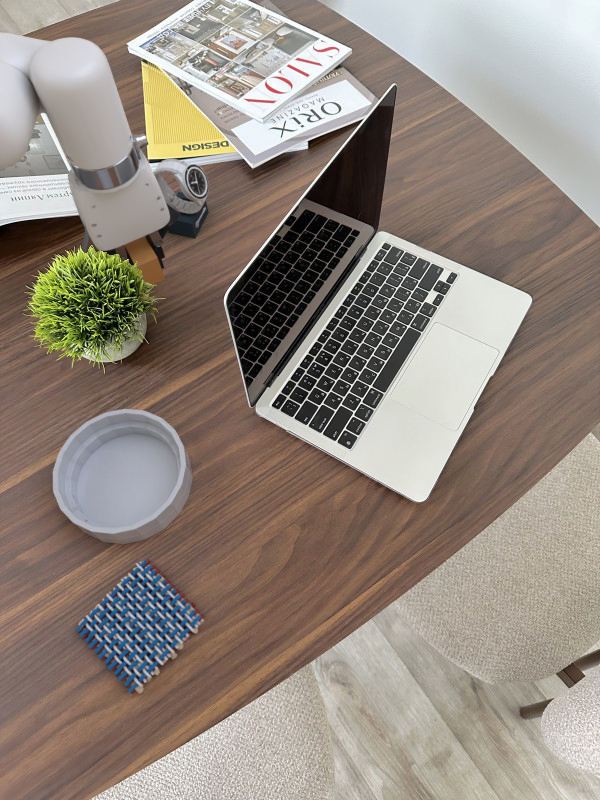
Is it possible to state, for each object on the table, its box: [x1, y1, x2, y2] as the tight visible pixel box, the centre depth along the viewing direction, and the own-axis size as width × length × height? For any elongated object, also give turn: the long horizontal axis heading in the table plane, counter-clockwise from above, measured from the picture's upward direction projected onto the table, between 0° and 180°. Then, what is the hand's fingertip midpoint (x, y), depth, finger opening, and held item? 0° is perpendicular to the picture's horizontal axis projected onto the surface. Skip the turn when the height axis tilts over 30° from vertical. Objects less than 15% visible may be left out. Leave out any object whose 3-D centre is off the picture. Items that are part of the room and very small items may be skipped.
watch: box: [153, 158, 210, 239], centre depth 91 cm, size 6×8×11 cm
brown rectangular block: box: [124, 236, 166, 286], centre depth 85 cm, size 3×8×4 cm, turn 29°
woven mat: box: [75, 558, 205, 695], centre depth 68 cm, size 10×11×2 cm
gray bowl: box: [52, 408, 193, 545], centre depth 74 cm, size 15×15×5 cm
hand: (145, 266), depth 86 cm, fingers closed on brown rectangular block, 3 cm apart
